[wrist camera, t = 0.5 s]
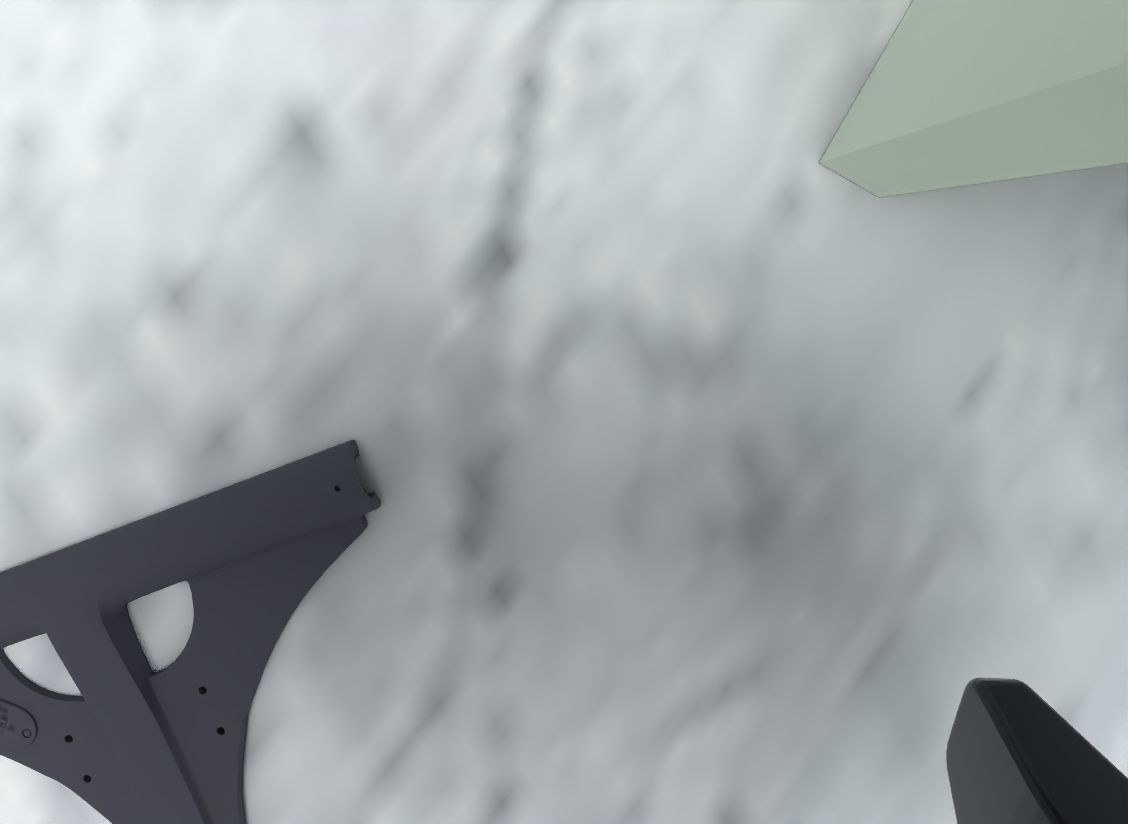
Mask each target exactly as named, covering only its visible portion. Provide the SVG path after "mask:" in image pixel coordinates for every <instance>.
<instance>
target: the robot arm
mask: <svg viewBox="0 0 1128 824" xmlns="http://www.w3.org/2000/svg"><path fill="white" fill-rule="evenodd" d="M946 759H947V770H948V776H949V781H950V787H951V792H952V798H953V803H954V808H955V814H956V819H957V824H1128V778H1127V777H1126V776H1125V775H1124V774H1123V773H1121V772H1120V771H1119V770H1118V769H1117V768H1116V767H1115V766H1114V765H1113V764H1112V763H1111V762H1110V761H1109V760H1107V759H1106V758H1105V757H1104V756H1103V755H1102V754H1101V753H1100V752H1099V751H1098V750H1097V749H1096V748H1095V747H1093V746H1092V745H1091V744H1090V743H1089V742H1088V741H1087V740H1086V739H1085V738H1084V737H1083V736H1082V735H1081V734H1080V733H1078V732H1077V731H1076V730H1075V729H1074V728H1073V727H1072V726H1071V725H1070V724H1069V723H1068V722H1067V721H1066V720H1064V719H1063V718H1062V717H1061V716H1060V715H1059V714H1058V713H1057V712H1056V711H1055V710H1054V709H1053V708H1052V707H1050V706H1049V705H1048V704H1047V703H1046V702H1045V701H1044V700H1043V699H1042V698H1041V697H1040V696H1039V695H1038V694H1036V693H1035V692H1034V691H1033V690H1032V689H1031V688H1030V687H1029V686H1028V685H1026V684H1025V683H1023V682H1021V681H1019V680H1016V679H1000V678H975V679H972V680H971V681H970V682H969V683H968V684H967V686H966V688H965V690H964V693H963V696H962V699H961V702H960V705H959V708H958V711H957V715H956V718H955V721H954V724H953V727H952V730H951V733H950V736H949V740H948V744H947V757H946Z"/></svg>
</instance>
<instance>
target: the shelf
mask: <svg viewBox="0 0 1128 824" xmlns="http://www.w3.org/2000/svg"><path fill="white" fill-rule="evenodd" d="M819 163H820V164H822V165H823V166H825V167H827V168H829V169H830V170H832V171H834V172H836V173H837V174H839V175H841V176H842V177H844V178H846V179H848V180H849V181H851V182H853V183H855V184H856V185H858V186H860V187H862V188H863V189H865V190H867V191H868V192H870V193H872V194H874V195H875V196H877V197H879V198H880V197H887V196H894V195H901V194H908V193H915V192H923V191H930V190H937V189H944V188H951V187H958V186H965V185H973V184H980V183H987V182H994V181H1001V180H1008V179H1015V178H1022V177H1030V176H1037V175H1044V174H1051V173H1058V172H1065V171H1072V170H1080V169H1087V168H1094V167H1101V166H1108V165H1115V164H1122V163H1128V0H913V1H912V3H911V5H910V6H909V8H908V10H907V11H906V13H905V15H904V17H903V18H902V20H901V22H900V24H899V25H898V27H897V29H896V30H895V32H894V34H893V36H892V37H891V39H890V41H889V42H888V44H887V46H886V48H885V49H884V51H883V53H882V55H881V56H880V58H879V60H878V61H877V63H876V65H875V67H874V68H873V70H872V72H871V73H870V75H869V77H868V79H867V80H866V82H865V84H864V86H863V87H862V89H861V91H860V92H859V94H858V96H857V98H856V99H855V101H854V103H853V105H852V106H851V108H850V110H849V111H848V113H847V115H846V117H845V118H844V120H843V122H842V123H841V125H840V127H839V129H838V130H837V132H836V134H835V136H834V137H833V139H832V141H831V142H830V144H829V146H828V148H827V149H826V151H825V153H824V154H823V156H822V158H821V160H820V161H819Z"/></svg>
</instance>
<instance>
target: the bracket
mask: <svg viewBox="0 0 1128 824" xmlns="http://www.w3.org/2000/svg"><path fill="white" fill-rule="evenodd" d="M357 456H359V451H358V448H357V444H356V442H355V440H351V441H348V442H345V443H343V444H340V445H337V446H335V447H332V448H329V449H327V450H324V451H322V452H319V453H316V454H314V455H311V456H308V457H306V458H303V459H300V460H298V461H295V462H292V463H290V464H287V465H284V466H282V467H279V468H277V469H274V470H271V471H269V472H266V473H263V474H261V475H258V476H255V477H253V478H250V479H247V480H245V481H242V482H239V483H237V484H234V485H232V486H229V487H226V488H224V489H221V490H218V491H216V492H213V493H210V494H208V495H205V496H202V497H200V498H197V499H194V500H192V501H189V502H187V503H184V504H181V505H179V506H176V507H173V508H171V509H168V510H165V511H163V512H160V513H157V514H155V515H152V516H149V517H147V518H144V519H141V520H139V521H136V522H134V523H131V524H128V525H126V526H123V527H120V528H118V529H115V530H112V531H110V532H107V533H104V534H102V535H99V536H96V537H94V538H91V539H89V540H86V541H83V542H81V543H78V544H75V545H73V546H70V547H67V548H65V549H62V550H59V551H57V552H54V553H51V554H49V555H46V556H44V557H41V558H38V559H36V560H33V561H30V562H28V563H25V564H22V565H20V566H17V567H14V568H12V569H9V570H6V571H4V572H1V573H0V755H2V756H5V757H7V758H9V759H12V760H14V761H16V762H19V763H21V764H23V765H25V766H27V767H29V768H31V769H33V770H35V771H37V772H39V773H41V774H44V775H46V776H48V777H50V778H52V779H54V780H56V781H58V782H60V783H62V784H63V785H65V786H66V787H68V788H69V789H71V790H72V791H73V792H75V793H76V794H77V795H78V796H80V797H81V798H82V799H83V800H85V801H86V802H87V803H88V804H90V805H91V806H92V807H93V808H94V809H96V810H97V811H98V812H99V813H101V814H102V815H103V816H104V817H105V818H107V819H108V820H109V821H110V822H111V823H112V824H244V815H243V804H242V793H241V789H242V760H243V750H244V740H245V731H246V723H247V716H248V711H249V708H250V705H251V702H252V699H253V697H254V694H255V691H256V688H257V686H258V683H259V680H260V678H261V675H262V672H263V670H264V667H265V665H266V663H267V660H268V658H269V656H270V654H271V652H272V649H273V647H274V645H275V643H276V641H277V640H278V638H279V636H280V634H281V632H282V630H283V629H284V627H285V625H286V624H287V622H288V620H289V619H290V617H291V615H292V614H293V612H294V611H295V609H296V608H297V606H298V605H299V603H300V602H301V600H302V599H303V598H304V596H305V595H306V594H307V592H308V591H309V590H310V588H311V587H312V586H313V585H314V583H315V582H316V581H317V580H318V579H319V577H320V576H321V575H322V574H323V573H324V572H325V570H326V569H327V568H328V567H329V566H330V565H331V564H332V563H333V562H334V561H335V560H336V559H337V558H338V557H339V556H340V555H341V554H342V553H343V552H344V551H345V550H346V549H347V548H348V547H349V546H350V545H351V544H352V542H353V541H354V540H355V539H356V538H357V537H358V536H359V535H360V534H361V533H362V532H363V531H364V530H365V529H366V528H367V521H366V519H365V517H364V514H365V513H367V512H370V511H372V510H375V509H377V508H379V507H380V505H381V501H380V499H379V497H378V496H377V494H376V493H375V492H372V493H369V494H366V492H365V491H364V490H363V488H362V486H361V484H360V482H359V479H358V476H357V473H356V470H355V464H354V458H355V457H357ZM182 581H187V582H188V583H189V585H190V588H191V592H192V598H193V606H194V621H193V627H192V632H191V635H190V638H189V640H188V643H187V645H186V647H185V648H184V650H183V652H182V653H181V655H180V656H179V657H178V658H177V659H176V661H175V662H174V663H173V664H171V665H170V666H169V667H167V668H165V669H163V670H160V671H158V672H155V673H154V672H153V671H152V669H151V667H150V665H149V663H148V661H147V659H146V657H145V655H144V652H143V650H142V648H141V646H140V643H139V641H138V638H137V636H136V634H135V631H134V629H133V626H132V623H131V620H130V617H129V614H128V610H127V603H128V602H130V601H133V600H135V599H137V598H140V597H142V596H145V595H147V594H150V593H152V592H155V591H157V590H160V589H163V588H165V587H168V586H171V585H173V584H176V583H179V582H182ZM44 633H47V635H48V637H49V638H50V640H51V642H52V644H53V646H54V648H55V649H56V651H57V653H58V655H59V657H60V658H61V660H62V662H63V663H64V665H65V667H66V668H67V670H68V672H69V674H70V675H71V677H72V679H73V680H74V682H75V684H76V686H77V687H78V689H79V691H80V692H81V694H82V696H69V695H63V694H58V693H55V692H52V691H49V690H47V689H44V688H42V687H40V686H38V685H36V684H35V683H33V682H32V681H30V680H29V679H28V678H26V677H25V676H24V675H23V674H22V673H21V672H20V671H19V670H18V669H17V668H16V667H15V666H14V665H13V663H12V662H11V661H10V660H9V659H8V657H7V656H6V654H5V653H4V651H3V648H4V647H6V646H9V645H12V644H14V643H17V642H20V641H23V640H26V639H29V638H32V637H34V636H38V635H41V634H44ZM204 687H205V688H206V689H205V688H204ZM223 728H224V729H223Z"/></svg>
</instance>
